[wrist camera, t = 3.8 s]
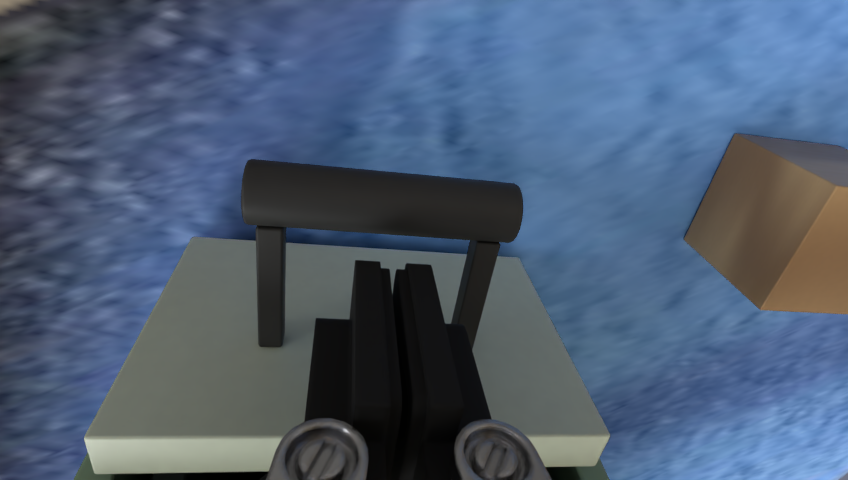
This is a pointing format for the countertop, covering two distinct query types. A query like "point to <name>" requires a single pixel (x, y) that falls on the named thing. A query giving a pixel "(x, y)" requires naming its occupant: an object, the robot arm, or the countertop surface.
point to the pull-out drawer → (329, 298)
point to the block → (779, 223)
